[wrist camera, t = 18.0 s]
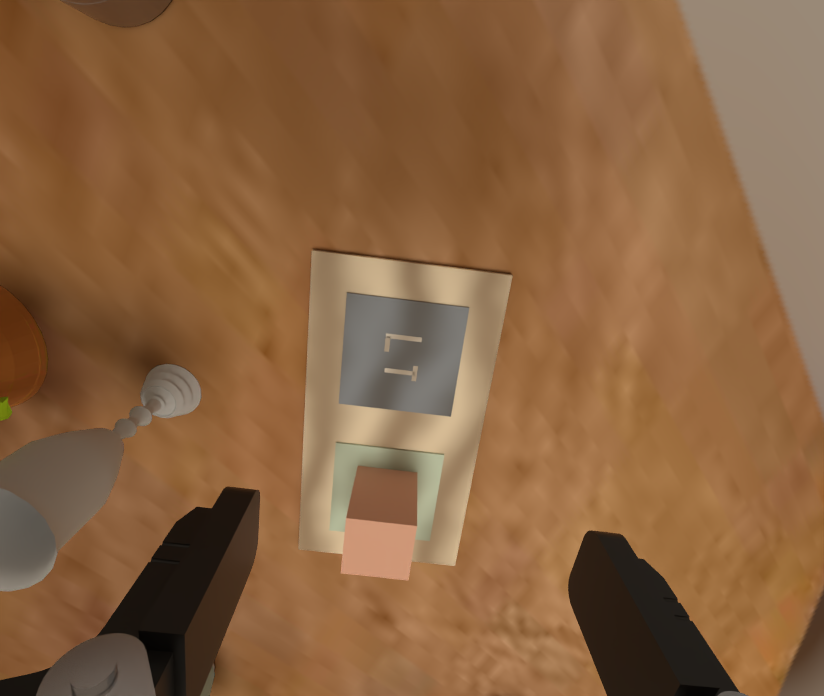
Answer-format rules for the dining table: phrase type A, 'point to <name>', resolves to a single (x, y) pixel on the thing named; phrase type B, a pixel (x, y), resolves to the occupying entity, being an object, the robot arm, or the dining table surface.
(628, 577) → the robot arm
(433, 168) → the dining table surface
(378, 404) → the board
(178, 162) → the dining table surface
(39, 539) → the chalice
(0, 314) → the decorative plant
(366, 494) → the terracotta block
